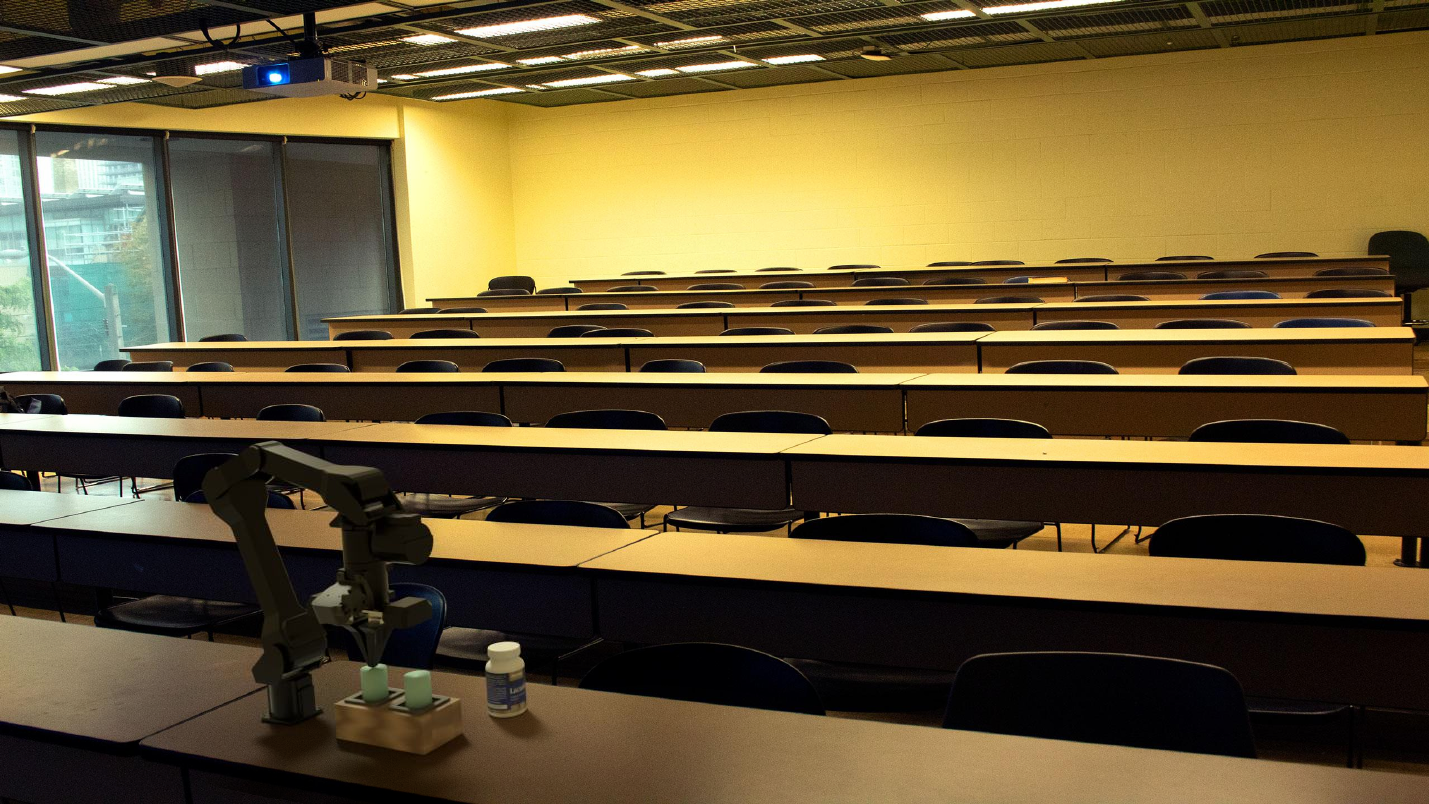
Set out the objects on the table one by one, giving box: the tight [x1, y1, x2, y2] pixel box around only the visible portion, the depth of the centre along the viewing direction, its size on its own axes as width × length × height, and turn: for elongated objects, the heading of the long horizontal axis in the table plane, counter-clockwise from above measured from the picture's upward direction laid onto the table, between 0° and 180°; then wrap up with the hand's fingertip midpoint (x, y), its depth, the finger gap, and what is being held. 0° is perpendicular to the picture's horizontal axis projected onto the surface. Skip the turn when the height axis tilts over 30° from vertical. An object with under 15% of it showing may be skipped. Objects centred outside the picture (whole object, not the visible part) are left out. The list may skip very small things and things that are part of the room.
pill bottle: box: [485, 641, 528, 719], centre depth 166 cm, size 6×6×10 cm
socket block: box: [333, 686, 464, 756], centre depth 159 cm, size 16×8×5 cm, turn 63°
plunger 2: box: [403, 669, 433, 710], centre depth 157 cm, size 4×4×5 cm
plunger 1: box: [359, 663, 389, 702], centre depth 160 cm, size 4×4×5 cm
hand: (373, 666), depth 160 cm, fingers closed
